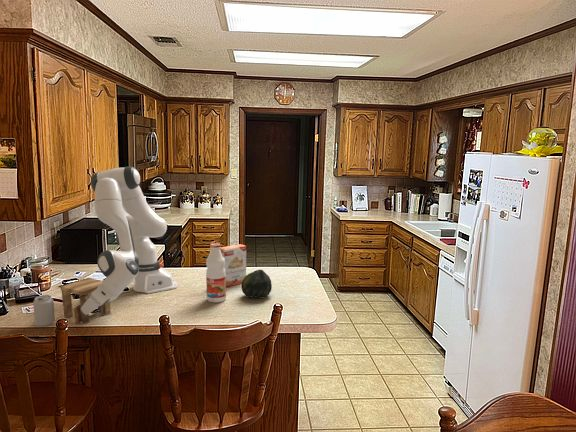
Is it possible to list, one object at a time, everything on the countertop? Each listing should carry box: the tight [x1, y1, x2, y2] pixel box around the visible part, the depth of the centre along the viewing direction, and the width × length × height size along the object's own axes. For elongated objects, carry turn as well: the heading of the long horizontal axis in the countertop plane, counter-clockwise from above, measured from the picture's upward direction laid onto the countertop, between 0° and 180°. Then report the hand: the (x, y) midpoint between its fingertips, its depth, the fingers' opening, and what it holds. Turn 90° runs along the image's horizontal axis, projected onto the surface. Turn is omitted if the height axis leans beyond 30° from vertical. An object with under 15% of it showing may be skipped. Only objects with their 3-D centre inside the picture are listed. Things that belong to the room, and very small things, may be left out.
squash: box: [241, 269, 273, 299], centre depth 219 cm, size 14×15×15 cm
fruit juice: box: [205, 242, 227, 304], centre depth 214 cm, size 9×9×28 cm
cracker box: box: [220, 243, 247, 288], centre depth 238 cm, size 14×6×21 cm, turn 129°
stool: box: [60, 277, 112, 325], centre depth 194 cm, size 14×16×14 cm
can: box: [32, 294, 56, 328], centre depth 186 cm, size 8×8×12 cm
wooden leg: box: [79, 295, 104, 324], centre depth 191 cm, size 10×3×12 cm, turn 153°
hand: (89, 310), depth 187 cm, fingers closed, pressing on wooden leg
